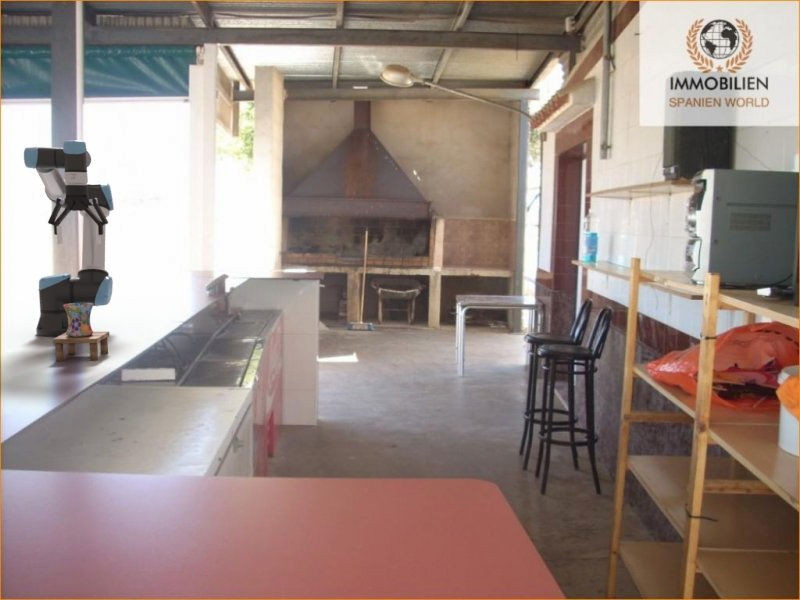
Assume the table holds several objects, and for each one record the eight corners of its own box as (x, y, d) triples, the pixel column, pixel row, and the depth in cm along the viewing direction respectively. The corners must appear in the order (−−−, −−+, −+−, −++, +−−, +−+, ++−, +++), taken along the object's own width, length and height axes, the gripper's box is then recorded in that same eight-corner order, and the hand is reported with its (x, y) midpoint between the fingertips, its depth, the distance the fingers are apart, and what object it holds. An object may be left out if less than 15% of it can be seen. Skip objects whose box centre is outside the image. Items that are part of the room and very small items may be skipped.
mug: (95, 337, 254) (94, 305, 252) (65, 339, 250) (63, 307, 248) (93, 331, 264) (92, 301, 263) (64, 333, 260) (62, 302, 259)
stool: (68, 352, 264) (67, 331, 263) (110, 352, 265) (109, 331, 264) (53, 361, 250) (52, 339, 250) (97, 360, 252) (96, 338, 251)
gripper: (36, 184, 268) (39, 244, 271) (109, 184, 270) (111, 244, 273) (44, 184, 275) (47, 243, 278) (115, 185, 277) (117, 243, 280)
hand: (79, 244), depth 275 cm, fingers open, 13 cm apart
